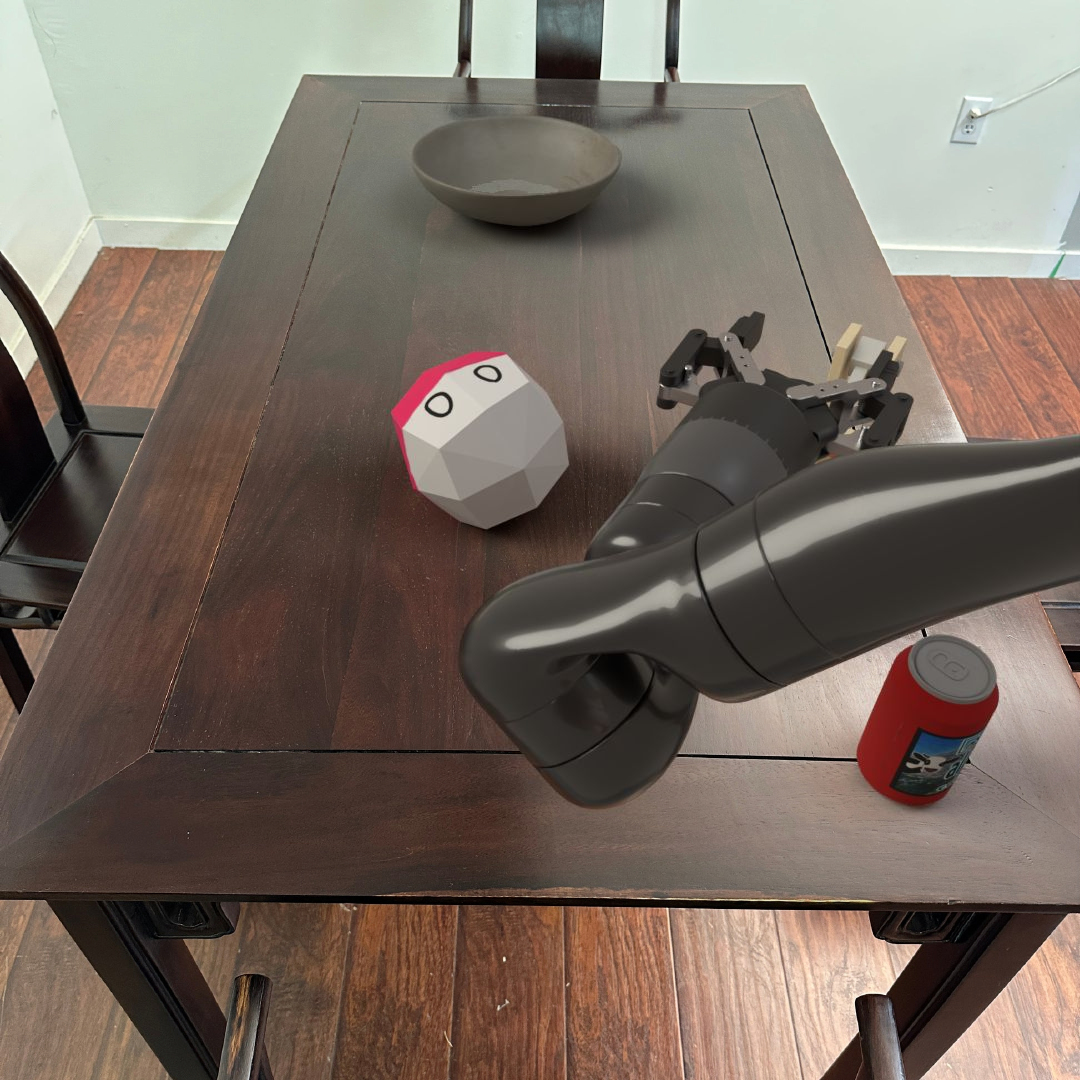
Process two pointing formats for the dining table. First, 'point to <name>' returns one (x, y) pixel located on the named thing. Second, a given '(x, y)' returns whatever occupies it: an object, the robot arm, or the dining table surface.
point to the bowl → (515, 166)
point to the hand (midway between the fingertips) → (819, 343)
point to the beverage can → (927, 719)
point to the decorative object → (481, 438)
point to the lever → (864, 359)
